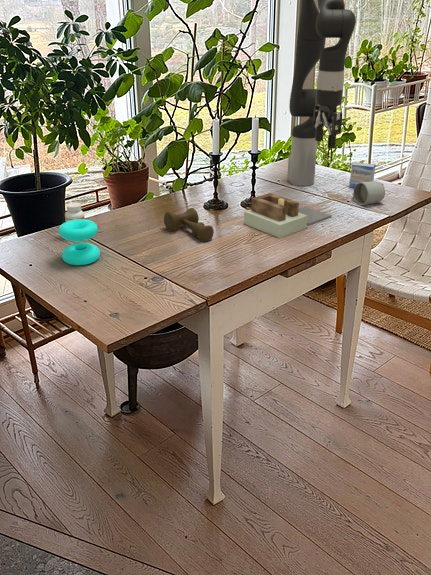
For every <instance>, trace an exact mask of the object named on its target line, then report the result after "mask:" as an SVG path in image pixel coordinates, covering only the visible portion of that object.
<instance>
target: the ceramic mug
mask: <svg viewBox="0 0 431 575" xmlns="http://www.w3.org/2000/svg"><path fill="white" fill-rule="evenodd" d="M385 196H386V189H385V186H384V184H383V183H382V182H380V181H376V180H375V181H374V180H373V181H371V182H359V183H357V184H356V185H355V187H354V188H353V193H352V198H353V200H354V201H355V203H356V204H357V205H358V206H367V205H371V204H377V203H379V202H380V203H381V202H382V201H383V199H384V198H385Z"/></svg>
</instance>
